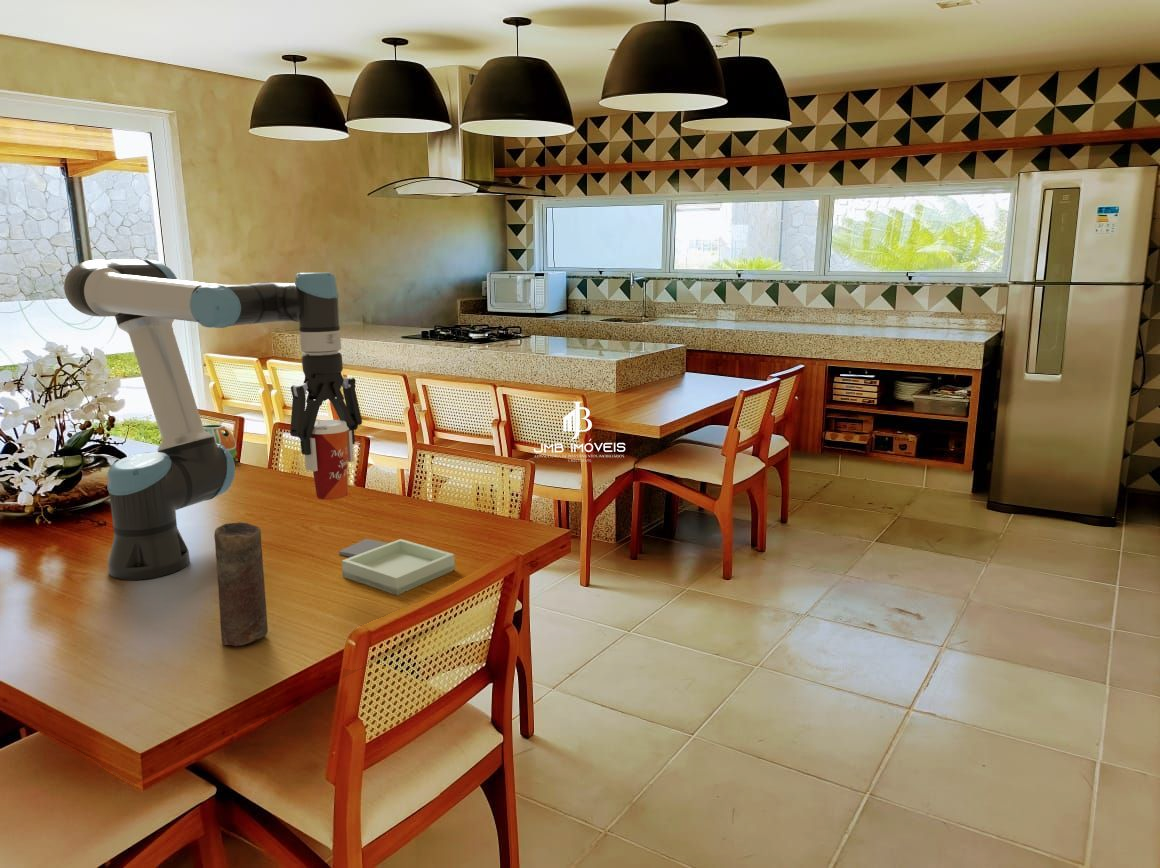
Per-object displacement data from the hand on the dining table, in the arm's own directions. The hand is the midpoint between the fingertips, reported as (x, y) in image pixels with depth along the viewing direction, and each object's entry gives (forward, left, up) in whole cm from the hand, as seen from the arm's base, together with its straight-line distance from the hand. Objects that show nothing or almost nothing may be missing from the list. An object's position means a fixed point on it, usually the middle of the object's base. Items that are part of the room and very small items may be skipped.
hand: (330, 465), depth 166 cm
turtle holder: (+36, +105, -23) cm, 114 cm away
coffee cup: (0, 0, -6) cm, 6 cm away
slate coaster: (+12, +4, -23) cm, 26 cm away
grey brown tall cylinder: (-29, -12, -23) cm, 39 cm away
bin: (+7, -11, -23) cm, 26 cm away
